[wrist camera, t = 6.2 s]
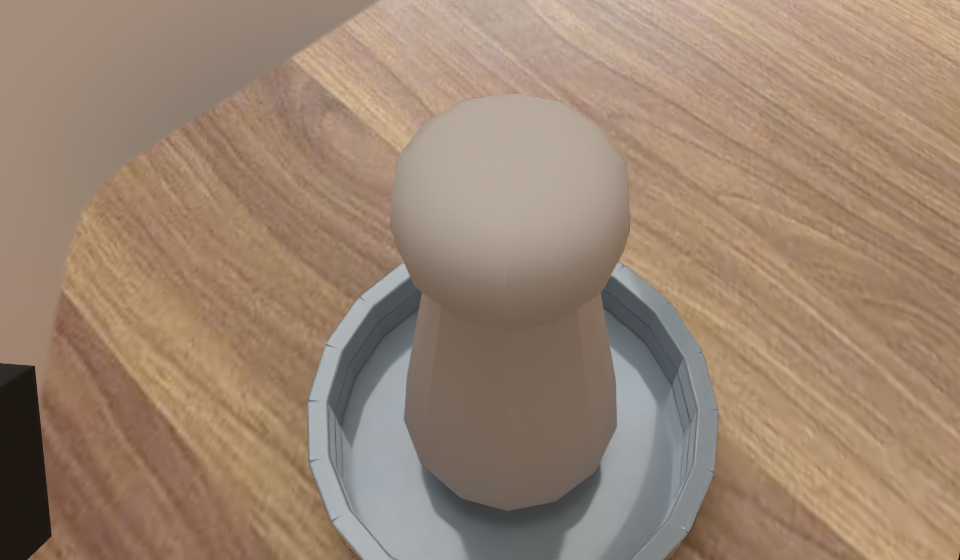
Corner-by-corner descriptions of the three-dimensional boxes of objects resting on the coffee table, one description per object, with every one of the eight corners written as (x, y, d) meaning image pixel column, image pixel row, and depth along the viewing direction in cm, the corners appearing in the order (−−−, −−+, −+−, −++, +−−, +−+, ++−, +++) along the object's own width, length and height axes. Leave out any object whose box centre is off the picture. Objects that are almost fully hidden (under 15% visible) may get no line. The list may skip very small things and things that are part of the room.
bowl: (274, 591, 24) (252, 573, 22) (376, 250, 30) (366, 210, 28) (684, 675, 23) (702, 664, 21) (713, 301, 28) (729, 263, 26)
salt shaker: (372, 440, 26) (263, 178, 15) (499, 309, 28) (487, -10, 17) (524, 574, 24) (533, 389, 13) (649, 423, 26) (752, 146, 15)
